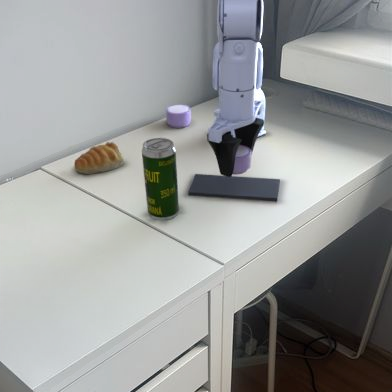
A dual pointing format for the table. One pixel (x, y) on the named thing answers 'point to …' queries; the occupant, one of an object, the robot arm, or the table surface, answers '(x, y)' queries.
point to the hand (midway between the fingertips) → (235, 167)
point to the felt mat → (235, 187)
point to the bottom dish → (178, 116)
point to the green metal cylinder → (160, 178)
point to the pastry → (99, 159)
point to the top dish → (242, 160)
